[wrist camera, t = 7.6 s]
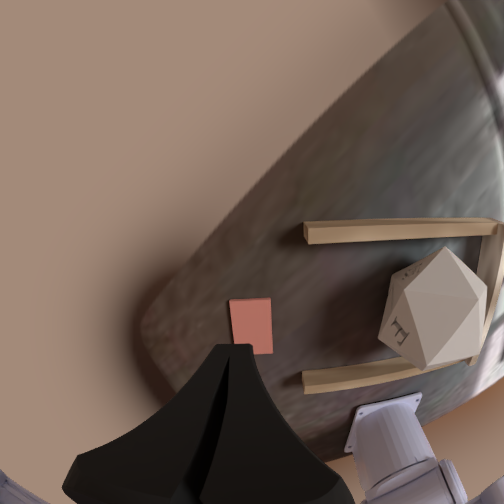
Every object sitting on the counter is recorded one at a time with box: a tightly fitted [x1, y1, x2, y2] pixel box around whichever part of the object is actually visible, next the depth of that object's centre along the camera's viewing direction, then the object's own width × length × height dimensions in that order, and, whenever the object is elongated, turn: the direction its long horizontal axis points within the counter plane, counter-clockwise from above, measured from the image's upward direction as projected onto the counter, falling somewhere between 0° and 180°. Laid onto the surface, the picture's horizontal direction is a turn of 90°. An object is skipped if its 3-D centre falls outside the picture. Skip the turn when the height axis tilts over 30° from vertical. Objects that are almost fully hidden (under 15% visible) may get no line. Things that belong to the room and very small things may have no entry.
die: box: [378, 247, 487, 371], centre depth 17 cm, size 8×9×10 cm
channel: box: [302, 218, 504, 394], centre depth 19 cm, size 14×18×3 cm
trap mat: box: [229, 298, 273, 354], centre depth 21 cm, size 5×3×1 cm, turn 4°
